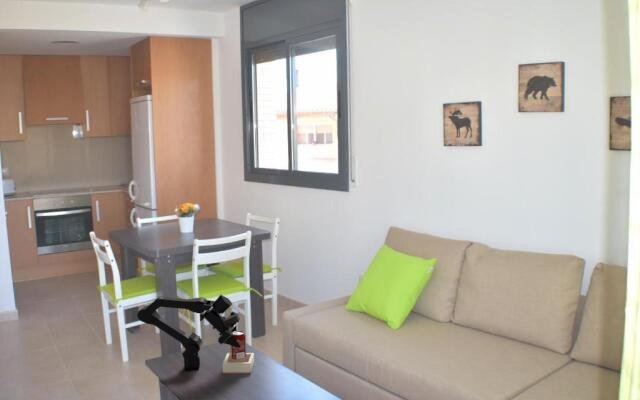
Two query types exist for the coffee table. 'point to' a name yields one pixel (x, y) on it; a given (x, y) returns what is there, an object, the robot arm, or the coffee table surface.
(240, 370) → the open box
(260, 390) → the coffee table surface
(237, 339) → the soda can
